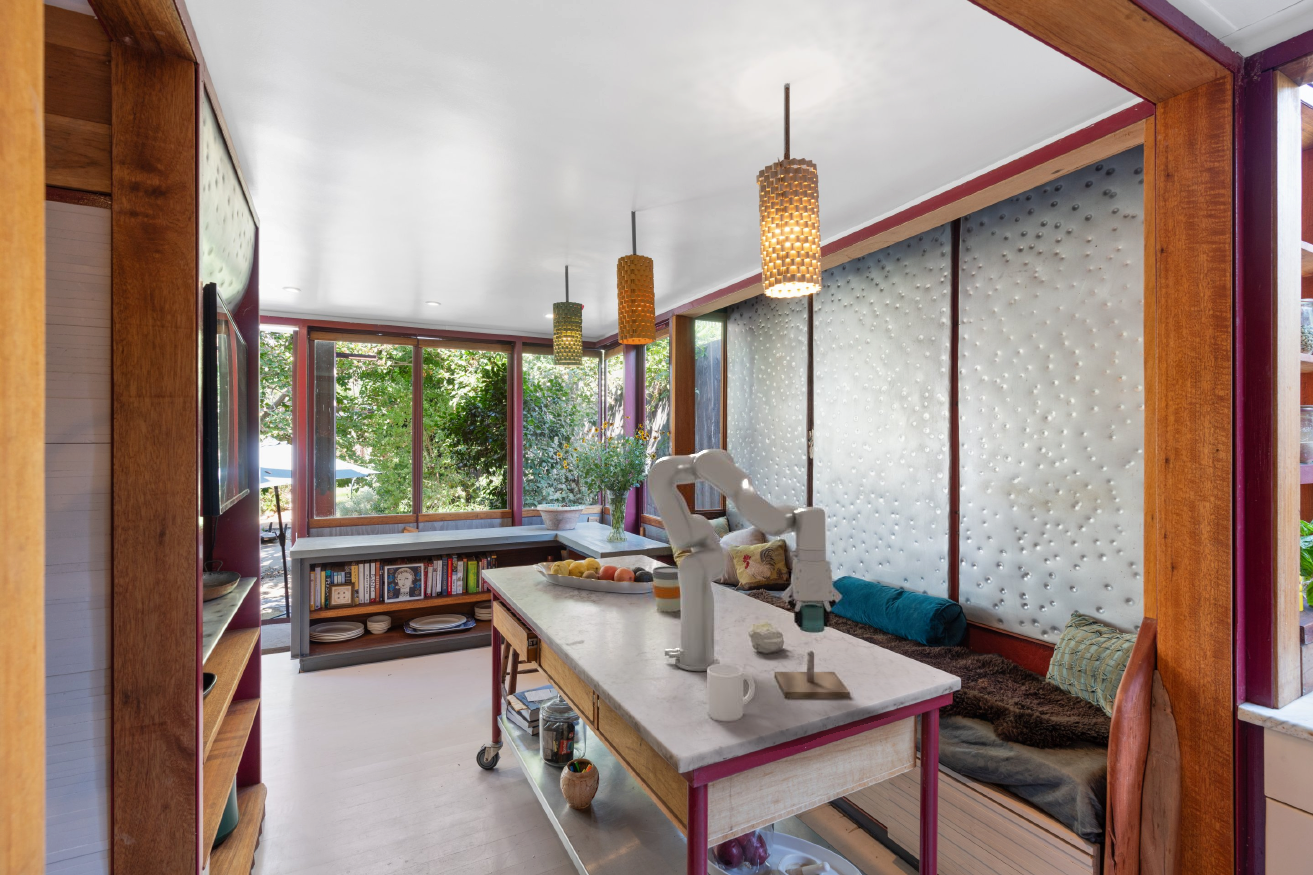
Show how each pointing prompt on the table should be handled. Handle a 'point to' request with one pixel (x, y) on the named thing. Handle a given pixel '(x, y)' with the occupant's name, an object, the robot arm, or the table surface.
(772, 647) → the fossil replica
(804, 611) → the bead
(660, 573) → the reusable coffee cup
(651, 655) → the table surface
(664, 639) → the table surface
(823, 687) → the spindle stand
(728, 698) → the mug
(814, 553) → the robot arm
